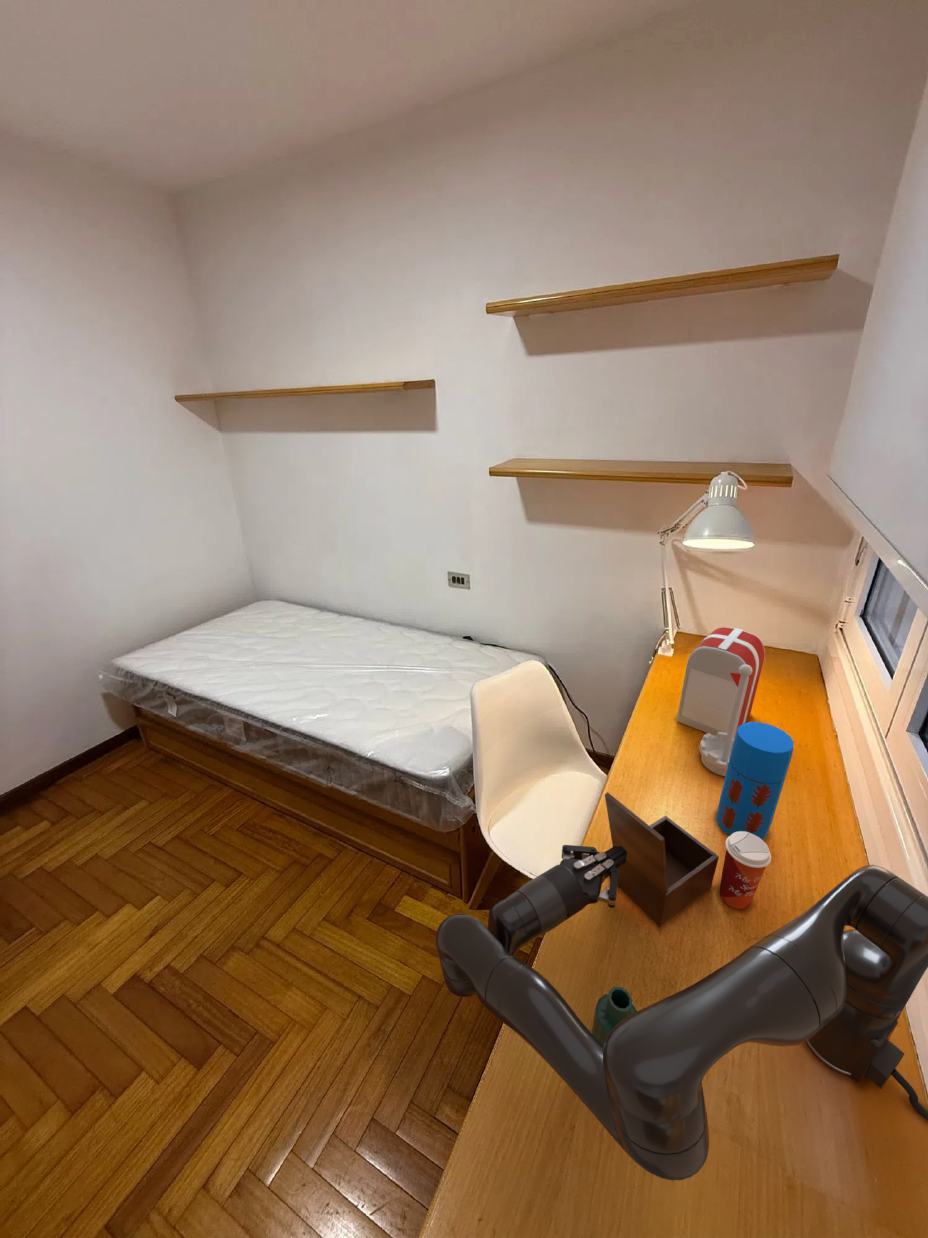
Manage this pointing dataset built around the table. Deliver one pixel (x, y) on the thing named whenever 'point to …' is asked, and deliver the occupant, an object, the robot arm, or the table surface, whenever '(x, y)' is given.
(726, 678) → the toy mailbox
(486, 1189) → the table surface
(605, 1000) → the bottle
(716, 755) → the flag stand
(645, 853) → the lid
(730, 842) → the paper cup
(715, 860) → the chest
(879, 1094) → the table surface
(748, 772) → the thermos
